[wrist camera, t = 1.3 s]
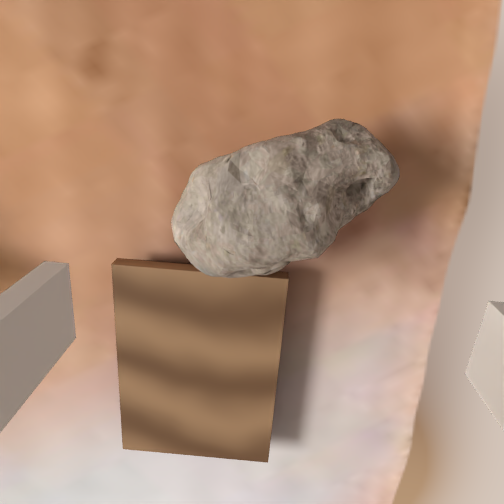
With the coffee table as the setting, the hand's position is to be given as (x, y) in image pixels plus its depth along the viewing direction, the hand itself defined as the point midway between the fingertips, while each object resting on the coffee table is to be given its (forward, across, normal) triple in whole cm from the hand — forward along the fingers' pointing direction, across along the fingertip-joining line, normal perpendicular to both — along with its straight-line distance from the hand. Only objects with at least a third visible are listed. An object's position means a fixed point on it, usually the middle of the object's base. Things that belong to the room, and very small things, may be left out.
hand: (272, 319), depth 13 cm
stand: (+18, -5, -15) cm, 24 cm away
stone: (+19, 0, 0) cm, 19 cm away
